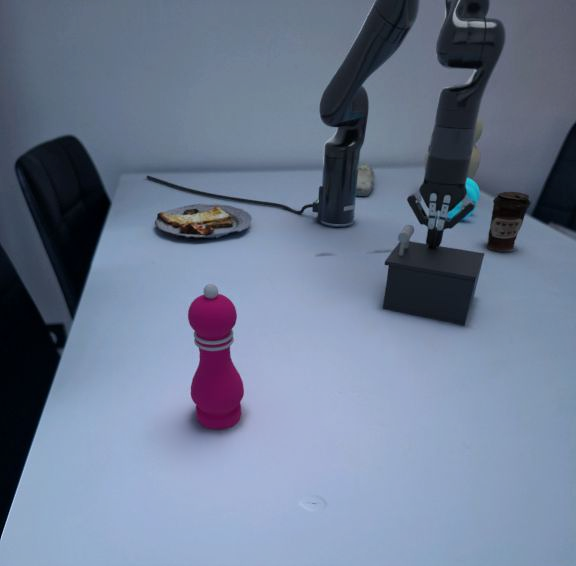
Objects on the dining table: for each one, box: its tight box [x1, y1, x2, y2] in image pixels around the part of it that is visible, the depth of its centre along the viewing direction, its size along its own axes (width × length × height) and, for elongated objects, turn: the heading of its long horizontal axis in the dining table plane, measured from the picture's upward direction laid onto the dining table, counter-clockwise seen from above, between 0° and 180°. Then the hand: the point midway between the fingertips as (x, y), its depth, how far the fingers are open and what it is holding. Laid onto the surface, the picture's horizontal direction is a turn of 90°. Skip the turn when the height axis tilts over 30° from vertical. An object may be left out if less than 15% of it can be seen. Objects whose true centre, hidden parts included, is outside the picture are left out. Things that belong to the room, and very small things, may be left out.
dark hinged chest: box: [382, 259, 484, 326], centre depth 103 cm, size 16×13×9 cm
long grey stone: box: [356, 161, 375, 197], centre depth 179 cm, size 35×5×10 cm
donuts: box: [447, 178, 481, 220], centre depth 150 cm, size 10×10×10 cm
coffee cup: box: [486, 191, 532, 253], centre depth 128 cm, size 9×8×13 cm
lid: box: [384, 224, 485, 281], centre depth 99 cm, size 16×13×5 cm
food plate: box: [154, 203, 253, 239], centre depth 139 cm, size 25×23×4 cm
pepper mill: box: [187, 283, 245, 430], centre depth 69 cm, size 7×7×20 cm
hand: (432, 246), depth 105 cm, fingers closed
